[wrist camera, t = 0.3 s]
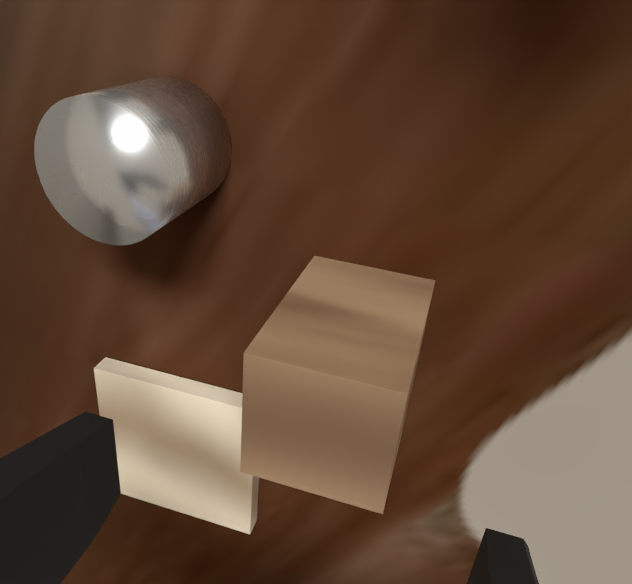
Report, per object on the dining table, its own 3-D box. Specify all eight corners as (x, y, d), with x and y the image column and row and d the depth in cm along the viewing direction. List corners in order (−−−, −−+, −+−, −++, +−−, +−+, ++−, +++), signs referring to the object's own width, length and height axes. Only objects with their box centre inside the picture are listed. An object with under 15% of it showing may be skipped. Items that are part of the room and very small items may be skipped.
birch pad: (256, 520, 26) (250, 534, 25) (119, 477, 27) (109, 489, 26) (263, 398, 22) (255, 411, 21) (105, 357, 24) (93, 367, 23)
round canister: (231, 210, 19) (171, 258, 15) (124, 190, 20) (45, 230, 16) (232, 85, 17) (164, 107, 14) (114, 68, 18) (22, 84, 14)
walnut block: (413, 381, 20) (382, 513, 15) (305, 354, 21) (240, 471, 16) (435, 280, 18) (407, 393, 13) (314, 255, 19) (243, 352, 14)
